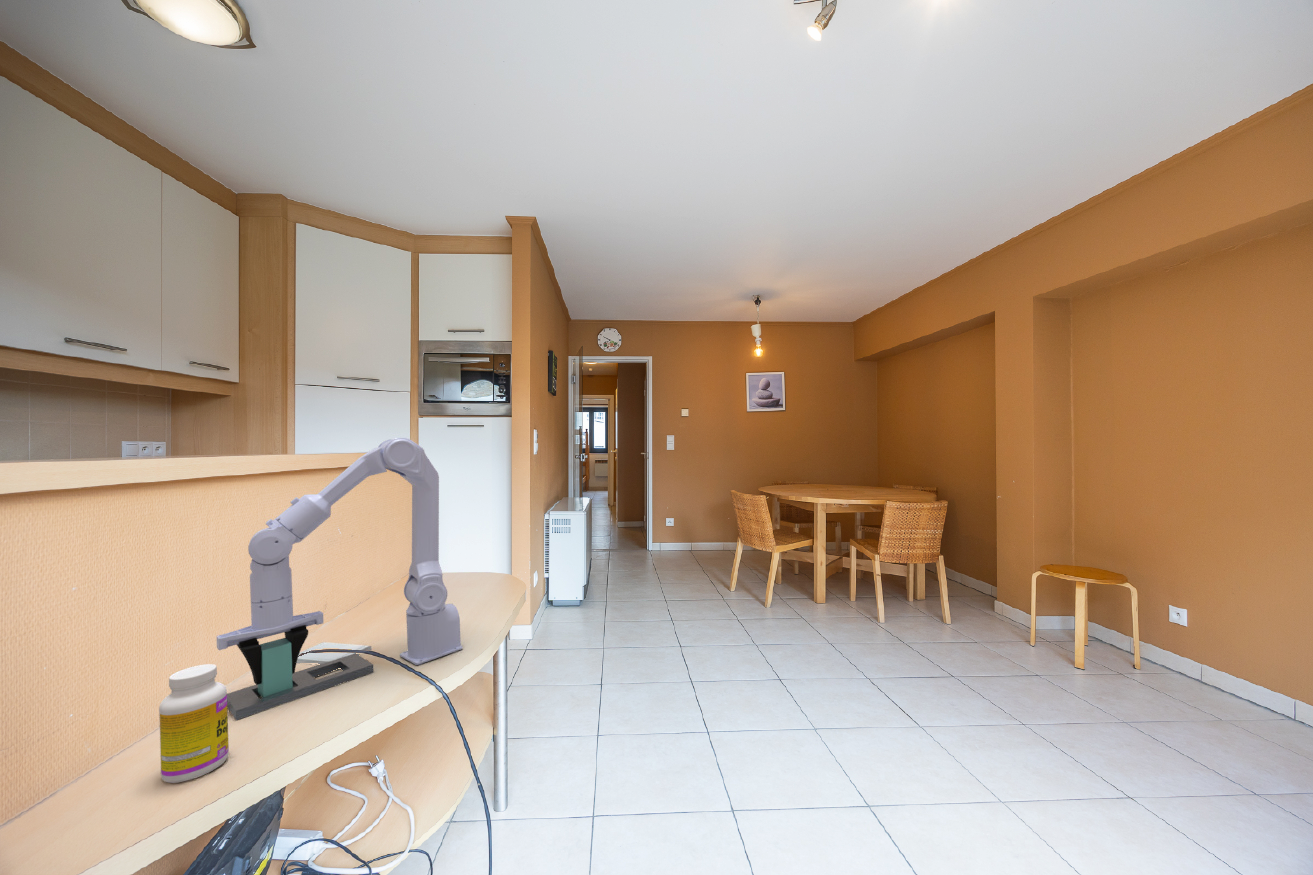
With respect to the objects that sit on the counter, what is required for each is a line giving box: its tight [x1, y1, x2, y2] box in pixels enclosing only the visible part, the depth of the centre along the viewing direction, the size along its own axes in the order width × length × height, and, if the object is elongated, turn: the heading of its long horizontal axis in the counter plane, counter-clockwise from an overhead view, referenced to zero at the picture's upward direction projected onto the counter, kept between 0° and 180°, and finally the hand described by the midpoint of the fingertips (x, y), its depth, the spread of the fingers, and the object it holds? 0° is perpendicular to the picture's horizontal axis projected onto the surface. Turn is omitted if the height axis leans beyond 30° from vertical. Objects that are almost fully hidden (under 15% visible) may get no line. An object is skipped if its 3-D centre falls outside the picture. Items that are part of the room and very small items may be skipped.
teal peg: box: [258, 637, 293, 698], centre depth 86 cm, size 4×4×8 cm
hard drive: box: [296, 641, 372, 664], centre depth 103 cm, size 2×8×12 cm
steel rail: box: [227, 653, 375, 721], centre depth 89 cm, size 20×9×2 cm, turn 140°
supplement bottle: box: [158, 663, 230, 784], centre depth 66 cm, size 7×7×13 cm
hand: (274, 677), depth 86 cm, fingers closed on teal peg, 4 cm apart
